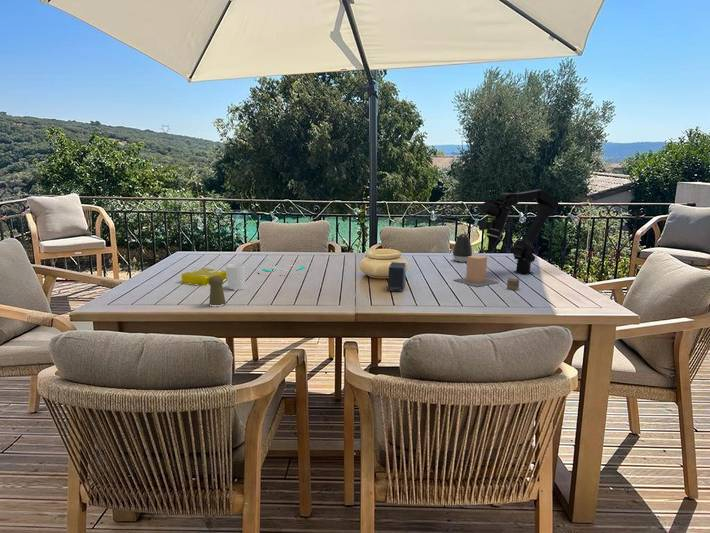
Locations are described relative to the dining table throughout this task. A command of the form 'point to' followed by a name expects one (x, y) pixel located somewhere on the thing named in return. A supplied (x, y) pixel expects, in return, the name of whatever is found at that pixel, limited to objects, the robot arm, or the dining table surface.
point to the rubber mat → (487, 282)
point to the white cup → (236, 276)
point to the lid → (281, 268)
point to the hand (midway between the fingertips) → (489, 251)
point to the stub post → (512, 284)
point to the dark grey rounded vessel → (462, 248)
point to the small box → (396, 276)
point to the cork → (216, 291)
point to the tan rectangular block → (476, 269)
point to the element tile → (202, 276)
